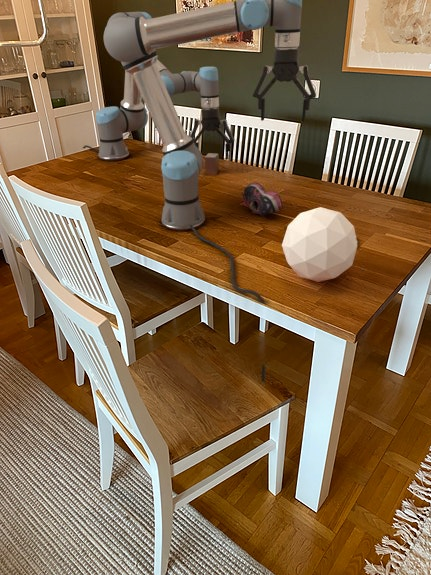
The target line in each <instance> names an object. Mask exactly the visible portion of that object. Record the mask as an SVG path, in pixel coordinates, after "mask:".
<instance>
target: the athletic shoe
mask: <svg viewBox="0 0 431 575" xmlns="http://www.w3.org/2000/svg"><path fill="white" fill-rule="evenodd" d="M241 197H242V199H243V201H238V203H239V204H241V205H245V206H246V207H247V208H248V210H249V211H250V210H251V213H252V214H255V215H260V217H266V216H267V215H270V214H274V213H275V212H279V211H282V210H283V209H284V205H283V201H282V198H281V196H280V195H279V194H278V192H277V191H274V190H269V191H267V190H266V189H265V187H264V186H263V185H262V184H261V183H258V182H251V183H249V184H247V186H246V187H245V188H244V190H243V191H242V192H241Z"/></svg>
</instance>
